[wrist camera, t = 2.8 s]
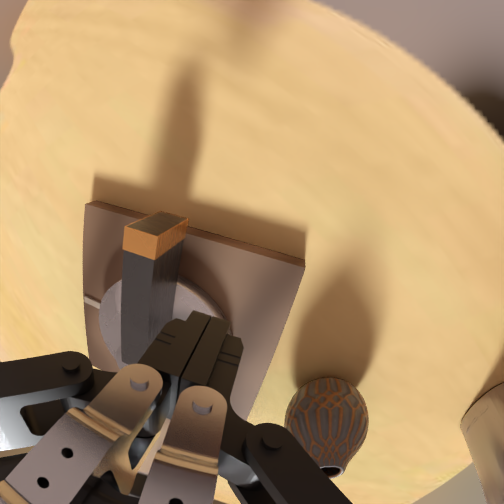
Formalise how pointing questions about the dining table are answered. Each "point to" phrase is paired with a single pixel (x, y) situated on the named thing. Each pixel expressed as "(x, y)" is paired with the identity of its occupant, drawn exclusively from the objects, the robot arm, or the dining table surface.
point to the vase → (328, 422)
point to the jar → (148, 463)
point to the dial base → (206, 277)
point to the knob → (150, 288)
